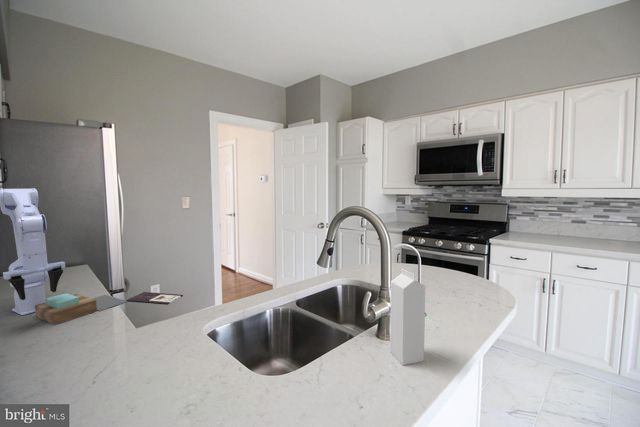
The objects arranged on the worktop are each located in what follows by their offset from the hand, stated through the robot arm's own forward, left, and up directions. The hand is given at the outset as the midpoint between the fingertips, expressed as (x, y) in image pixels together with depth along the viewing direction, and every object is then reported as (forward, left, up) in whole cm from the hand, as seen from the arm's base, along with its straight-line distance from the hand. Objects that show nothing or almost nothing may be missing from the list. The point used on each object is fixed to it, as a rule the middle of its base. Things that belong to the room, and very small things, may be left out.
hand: (38, 295), depth 97 cm
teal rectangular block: (-2, +6, -5) cm, 9 cm away
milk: (+108, +34, -10) cm, 114 cm away
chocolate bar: (+12, +30, -10) cm, 34 cm away
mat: (-2, +19, -9) cm, 21 cm away
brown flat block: (-2, +7, -9) cm, 12 cm away
